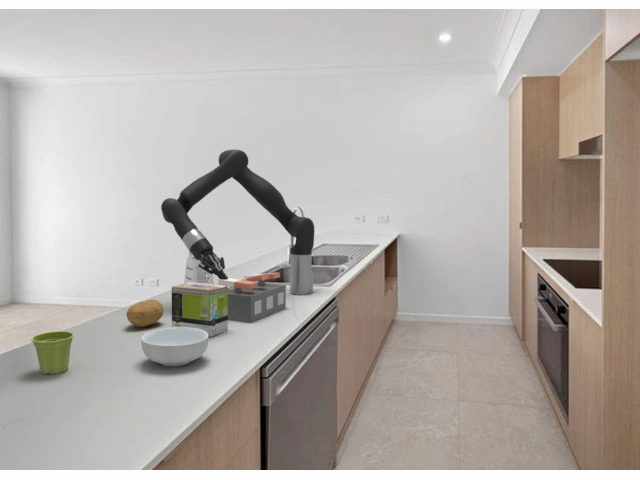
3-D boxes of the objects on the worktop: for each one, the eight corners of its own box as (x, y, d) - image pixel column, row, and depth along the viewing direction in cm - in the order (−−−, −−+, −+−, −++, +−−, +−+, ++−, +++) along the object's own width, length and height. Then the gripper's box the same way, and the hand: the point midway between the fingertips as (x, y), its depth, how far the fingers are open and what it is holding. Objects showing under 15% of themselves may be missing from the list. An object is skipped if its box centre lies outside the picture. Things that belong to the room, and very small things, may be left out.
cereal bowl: (127, 367, 135) (126, 339, 134) (168, 349, 150) (168, 324, 149) (184, 376, 128) (183, 347, 128) (220, 356, 144) (220, 331, 143)
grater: (215, 295, 226) (215, 248, 224) (191, 297, 220) (191, 249, 218) (205, 291, 234) (205, 245, 232) (182, 293, 228) (182, 247, 227)
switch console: (257, 301, 215) (257, 275, 214) (293, 305, 208) (293, 278, 207) (211, 317, 187) (211, 287, 186) (251, 322, 180) (251, 291, 179)
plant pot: (41, 380, 124) (40, 344, 124) (26, 370, 131) (25, 336, 130) (81, 370, 131) (80, 336, 131) (65, 361, 138) (64, 329, 137)
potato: (117, 329, 169) (117, 305, 168) (146, 319, 182) (146, 296, 182) (142, 333, 166) (142, 307, 165) (170, 322, 179) (170, 299, 178)
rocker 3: (250, 279, 206) (250, 274, 206) (280, 276, 201) (279, 272, 201) (244, 281, 202) (243, 276, 202) (273, 278, 196) (273, 274, 196)
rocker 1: (226, 282, 191) (226, 277, 191) (257, 287, 186) (257, 282, 186) (218, 284, 187) (218, 279, 187) (249, 289, 182) (250, 284, 182)
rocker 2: (239, 284, 199) (238, 279, 199) (269, 278, 193) (268, 273, 193) (232, 286, 194) (231, 281, 194) (262, 280, 189) (261, 275, 189)
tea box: (228, 330, 171) (228, 284, 169) (209, 338, 161) (209, 290, 160) (191, 324, 177) (190, 280, 175) (170, 331, 168) (170, 285, 166)
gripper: (191, 238, 185) (221, 276, 181) (214, 236, 197) (242, 271, 193) (179, 252, 188) (208, 290, 184) (202, 249, 200) (230, 284, 196)
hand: (225, 280), depth 188 cm, fingers closed
